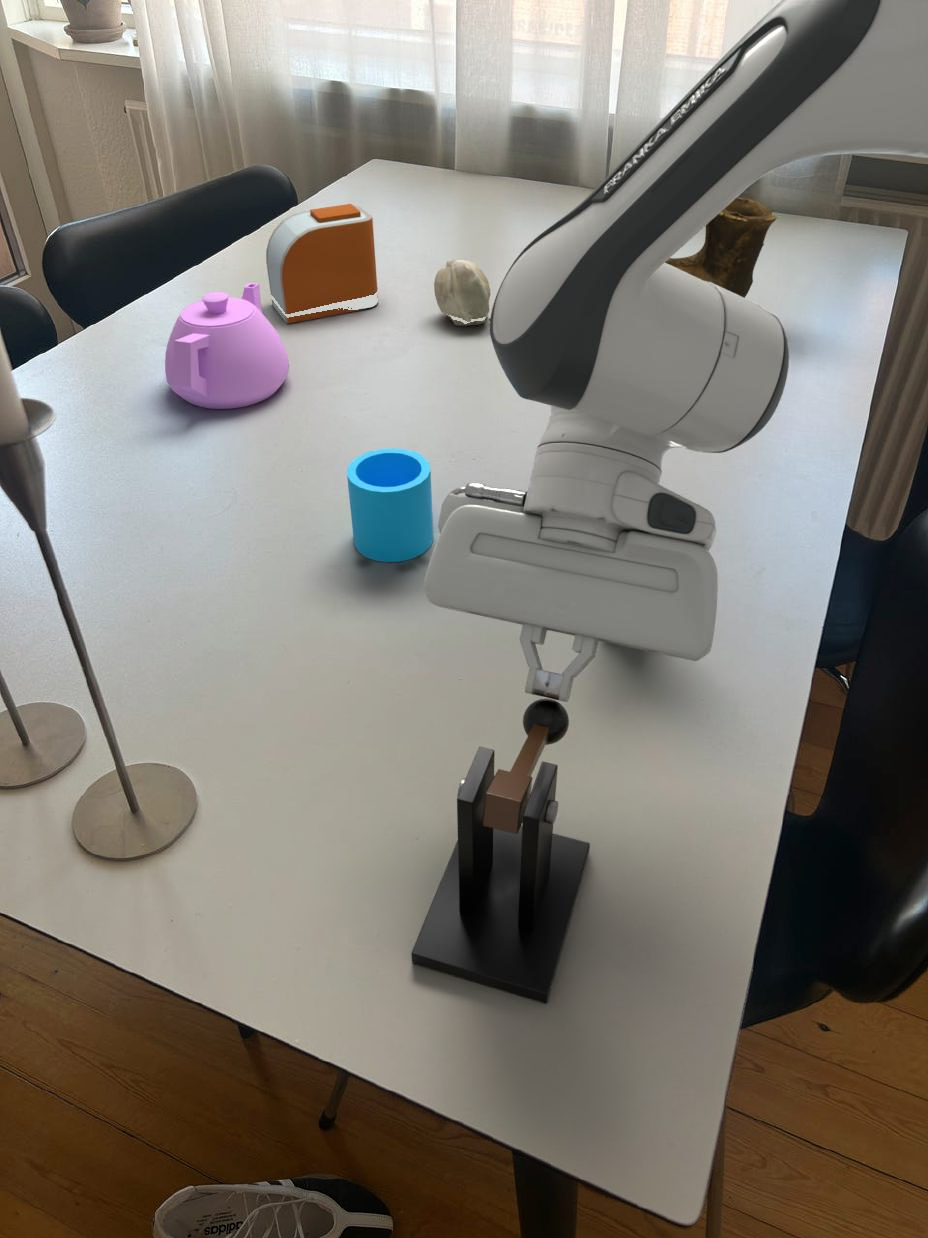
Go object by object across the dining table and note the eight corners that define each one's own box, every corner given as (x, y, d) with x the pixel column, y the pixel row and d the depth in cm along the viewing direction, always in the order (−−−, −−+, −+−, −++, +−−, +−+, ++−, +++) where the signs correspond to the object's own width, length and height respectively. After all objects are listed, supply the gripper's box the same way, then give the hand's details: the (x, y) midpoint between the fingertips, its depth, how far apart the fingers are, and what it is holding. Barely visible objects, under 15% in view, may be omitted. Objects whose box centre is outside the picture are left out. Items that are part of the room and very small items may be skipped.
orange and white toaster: (363, 287, 152) (356, 197, 143) (382, 306, 146) (376, 213, 137) (271, 303, 147) (258, 211, 138) (287, 324, 141) (274, 229, 132)
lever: (527, 724, 70) (531, 686, 68) (570, 734, 69) (575, 696, 67) (473, 829, 58) (477, 785, 57) (524, 842, 58) (530, 798, 56)
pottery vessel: (577, 334, 137) (586, 187, 124) (583, 304, 145) (592, 164, 133) (757, 345, 134) (786, 194, 121) (753, 314, 142) (780, 170, 129)
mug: (414, 569, 95) (410, 498, 90) (339, 552, 97) (331, 482, 92) (458, 506, 103) (457, 438, 98) (389, 492, 106) (384, 425, 101)
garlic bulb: (484, 344, 140) (496, 289, 132) (427, 335, 140) (435, 279, 131) (488, 301, 145) (499, 245, 137) (432, 292, 145) (440, 235, 136)
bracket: (469, 822, 71) (467, 697, 63) (589, 853, 69) (603, 728, 61) (411, 964, 62) (401, 841, 54) (546, 1004, 60) (557, 883, 52)
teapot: (252, 432, 116) (236, 337, 108) (135, 418, 119) (111, 324, 112) (317, 355, 133) (307, 268, 125) (213, 345, 136) (197, 259, 128)
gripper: (437, 467, 67) (392, 662, 66) (738, 519, 62) (693, 732, 61) (458, 488, 73) (417, 667, 72) (734, 537, 68) (693, 730, 67)
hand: (546, 697), depth 66 cm, fingers closed
